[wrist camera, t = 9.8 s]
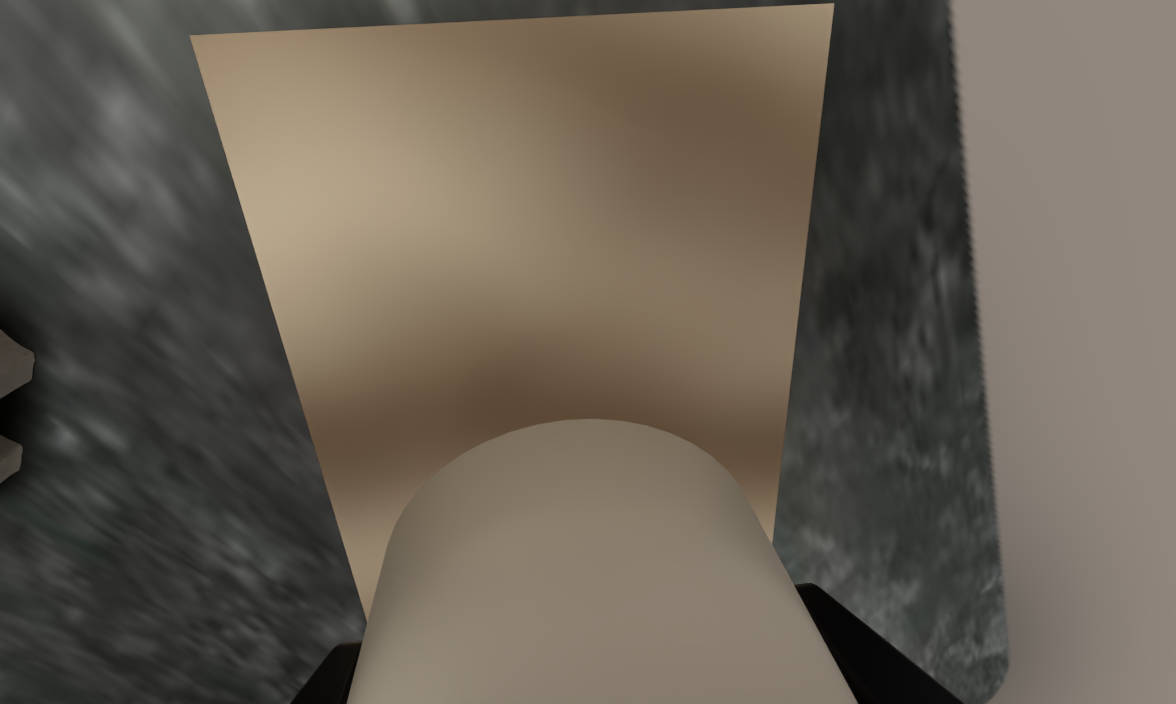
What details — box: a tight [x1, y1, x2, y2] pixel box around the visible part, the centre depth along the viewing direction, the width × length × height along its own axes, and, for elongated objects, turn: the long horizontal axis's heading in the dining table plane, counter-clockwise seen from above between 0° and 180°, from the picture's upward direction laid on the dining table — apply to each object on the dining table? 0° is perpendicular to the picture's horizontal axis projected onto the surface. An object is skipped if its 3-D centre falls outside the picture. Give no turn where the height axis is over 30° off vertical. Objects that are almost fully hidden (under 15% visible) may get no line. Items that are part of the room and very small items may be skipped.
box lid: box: [190, 3, 834, 622], centre depth 13 cm, size 16×10×1 cm, turn 3°
